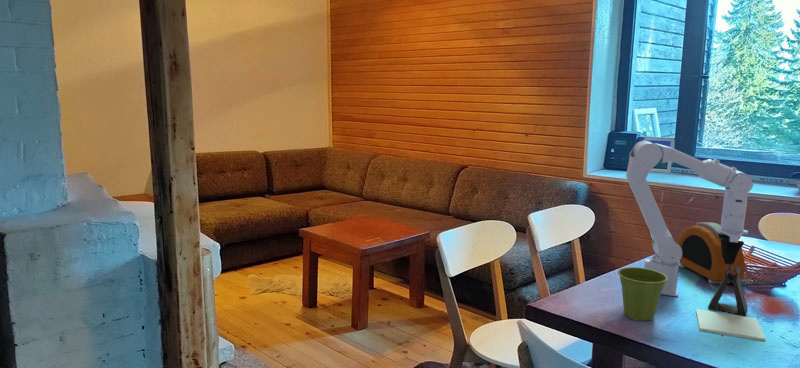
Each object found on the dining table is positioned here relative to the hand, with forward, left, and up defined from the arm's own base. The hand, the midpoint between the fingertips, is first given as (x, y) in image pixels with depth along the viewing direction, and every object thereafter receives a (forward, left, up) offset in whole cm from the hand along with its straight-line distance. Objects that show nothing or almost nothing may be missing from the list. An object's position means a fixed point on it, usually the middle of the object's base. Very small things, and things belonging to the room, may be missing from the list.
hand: (727, 261), depth 170 cm
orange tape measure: (-3, +20, -11) cm, 23 cm away
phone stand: (0, -11, -11) cm, 15 cm away
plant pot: (-22, -27, -11) cm, 36 cm away
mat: (-1, -23, -10) cm, 25 cm away
